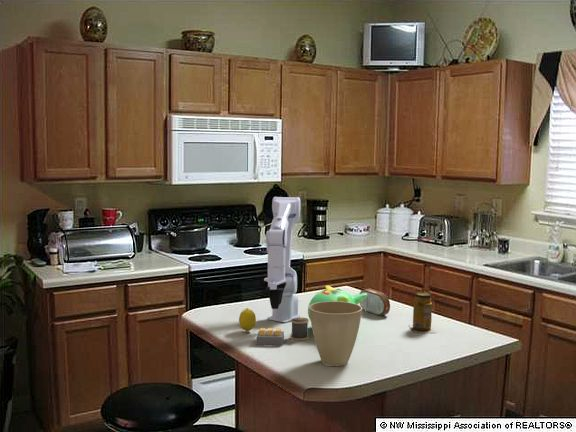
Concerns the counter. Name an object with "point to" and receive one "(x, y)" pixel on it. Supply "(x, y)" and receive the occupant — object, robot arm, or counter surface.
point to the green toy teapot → (335, 297)
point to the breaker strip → (270, 337)
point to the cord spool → (299, 328)
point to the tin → (375, 302)
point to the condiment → (422, 313)
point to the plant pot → (335, 330)
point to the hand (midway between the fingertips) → (276, 306)
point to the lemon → (247, 320)
